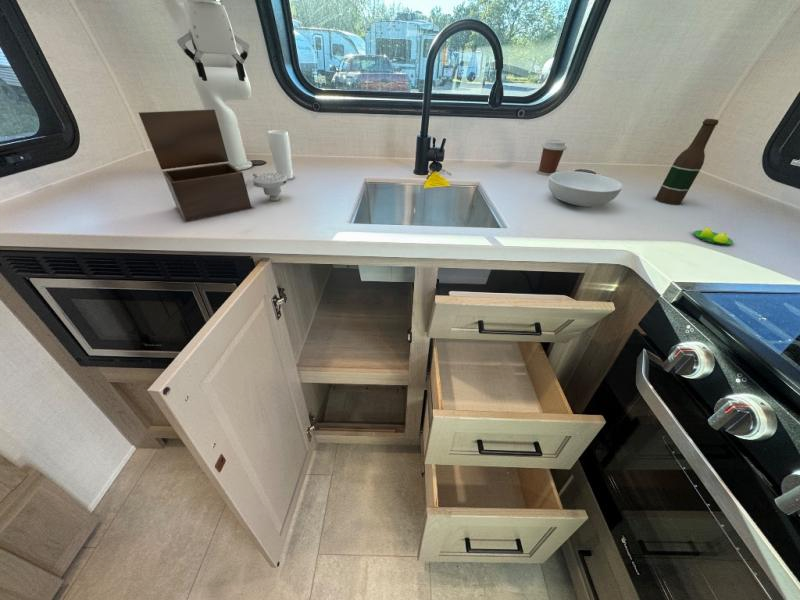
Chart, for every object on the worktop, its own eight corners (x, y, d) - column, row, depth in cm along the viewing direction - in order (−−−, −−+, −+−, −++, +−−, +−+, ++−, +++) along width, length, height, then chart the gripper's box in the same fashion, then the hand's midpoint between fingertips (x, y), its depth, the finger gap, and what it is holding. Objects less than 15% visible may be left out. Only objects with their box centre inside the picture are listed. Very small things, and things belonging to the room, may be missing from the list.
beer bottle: (673, 206, 101) (721, 121, 87) (649, 198, 107) (690, 117, 93) (686, 203, 104) (734, 120, 90) (662, 195, 110) (703, 117, 96)
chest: (251, 208, 90) (242, 172, 84) (186, 221, 81) (170, 182, 75) (238, 196, 97) (228, 162, 91) (176, 207, 88) (162, 171, 82)
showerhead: (261, 169, 96) (291, 172, 94) (266, 193, 100) (295, 196, 99) (243, 177, 88) (275, 180, 87) (249, 203, 93) (280, 206, 91)
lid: (214, 109, 83) (209, 106, 86) (138, 112, 74) (135, 109, 77) (228, 161, 91) (223, 157, 94) (161, 169, 82) (158, 164, 85)
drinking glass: (299, 177, 115) (292, 131, 106) (286, 182, 110) (278, 134, 101) (284, 174, 117) (276, 129, 108) (271, 179, 112) (262, 132, 103)
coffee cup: (562, 174, 129) (573, 142, 122) (549, 177, 125) (559, 144, 118) (543, 169, 135) (552, 138, 128) (530, 171, 131) (538, 139, 124)
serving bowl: (529, 194, 106) (535, 173, 102) (574, 188, 113) (582, 168, 109) (579, 217, 91) (588, 193, 87) (628, 209, 98) (638, 186, 94)
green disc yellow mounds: (698, 242, 80) (705, 232, 78) (688, 230, 86) (694, 220, 84) (737, 248, 78) (745, 238, 76) (723, 235, 84) (730, 225, 82)
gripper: (235, 2, 84) (251, 80, 94) (159, -8, 75) (186, 79, 86) (243, -1, 79) (259, 81, 90) (163, -11, 71) (191, 81, 81)
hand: (223, 80), depth 88 cm, fingers open, 9 cm apart
